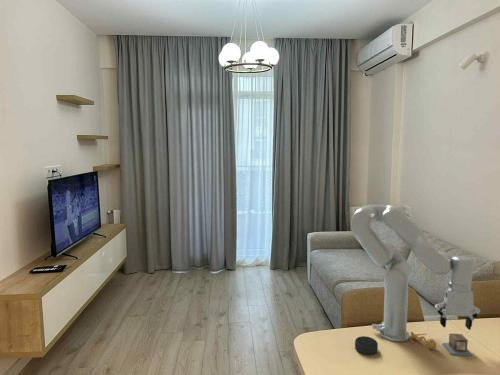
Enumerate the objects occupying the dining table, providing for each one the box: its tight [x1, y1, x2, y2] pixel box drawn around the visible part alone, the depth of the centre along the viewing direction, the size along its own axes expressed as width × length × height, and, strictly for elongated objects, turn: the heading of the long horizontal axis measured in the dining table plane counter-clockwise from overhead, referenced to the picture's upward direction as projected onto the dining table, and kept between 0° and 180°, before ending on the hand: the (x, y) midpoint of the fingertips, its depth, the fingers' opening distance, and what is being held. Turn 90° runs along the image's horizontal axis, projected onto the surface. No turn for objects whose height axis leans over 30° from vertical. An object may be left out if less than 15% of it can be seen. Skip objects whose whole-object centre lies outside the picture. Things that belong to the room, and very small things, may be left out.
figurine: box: [409, 331, 437, 350], centre depth 156 cm, size 8×6×12 cm
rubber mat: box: [442, 342, 473, 357], centre depth 152 cm, size 8×8×1 cm
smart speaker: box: [354, 336, 379, 356], centre depth 152 cm, size 9×9×4 cm
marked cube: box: [448, 333, 469, 352], centre depth 151 cm, size 5×5×5 cm
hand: (455, 326), depth 152 cm, fingers open, 9 cm apart
